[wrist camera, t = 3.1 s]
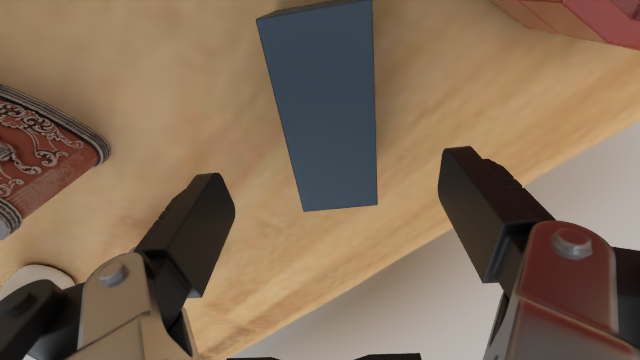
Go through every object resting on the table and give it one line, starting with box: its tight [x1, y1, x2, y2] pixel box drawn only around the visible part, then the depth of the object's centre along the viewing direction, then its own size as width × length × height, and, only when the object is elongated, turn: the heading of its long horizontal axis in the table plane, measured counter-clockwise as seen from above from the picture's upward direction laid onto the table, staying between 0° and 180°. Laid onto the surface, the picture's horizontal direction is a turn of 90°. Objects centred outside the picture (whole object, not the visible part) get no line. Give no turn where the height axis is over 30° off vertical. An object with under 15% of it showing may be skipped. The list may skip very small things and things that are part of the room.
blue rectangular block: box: [256, 0, 378, 212], centre depth 14 cm, size 10×4×4 cm, turn 8°
